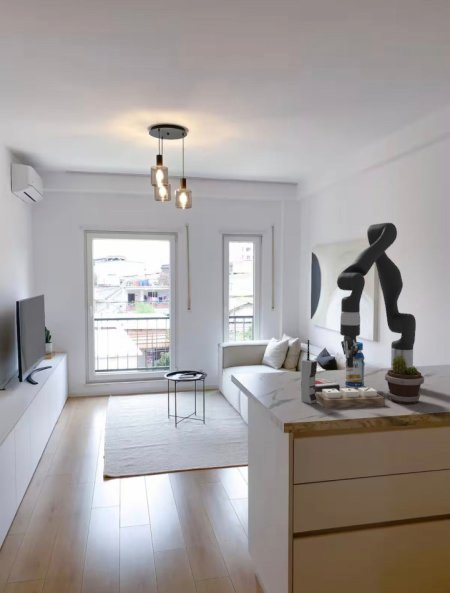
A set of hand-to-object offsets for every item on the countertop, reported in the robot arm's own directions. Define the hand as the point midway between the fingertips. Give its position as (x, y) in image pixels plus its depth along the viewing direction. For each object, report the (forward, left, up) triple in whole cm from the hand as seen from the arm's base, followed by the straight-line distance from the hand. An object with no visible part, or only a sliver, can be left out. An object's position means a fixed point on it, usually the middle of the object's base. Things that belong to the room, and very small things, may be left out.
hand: (349, 366), depth 183 cm
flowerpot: (-23, +1, -15) cm, 27 cm away
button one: (0, 0, -12) cm, 12 cm away
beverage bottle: (-13, -24, -15) cm, 31 cm away
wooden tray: (0, 0, -14) cm, 14 cm away
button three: (-8, 0, -12) cm, 14 cm away
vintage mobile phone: (+16, -3, -15) cm, 22 cm away
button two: (+7, 0, -12) cm, 14 cm away
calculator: (+5, -21, -15) cm, 26 cm away
